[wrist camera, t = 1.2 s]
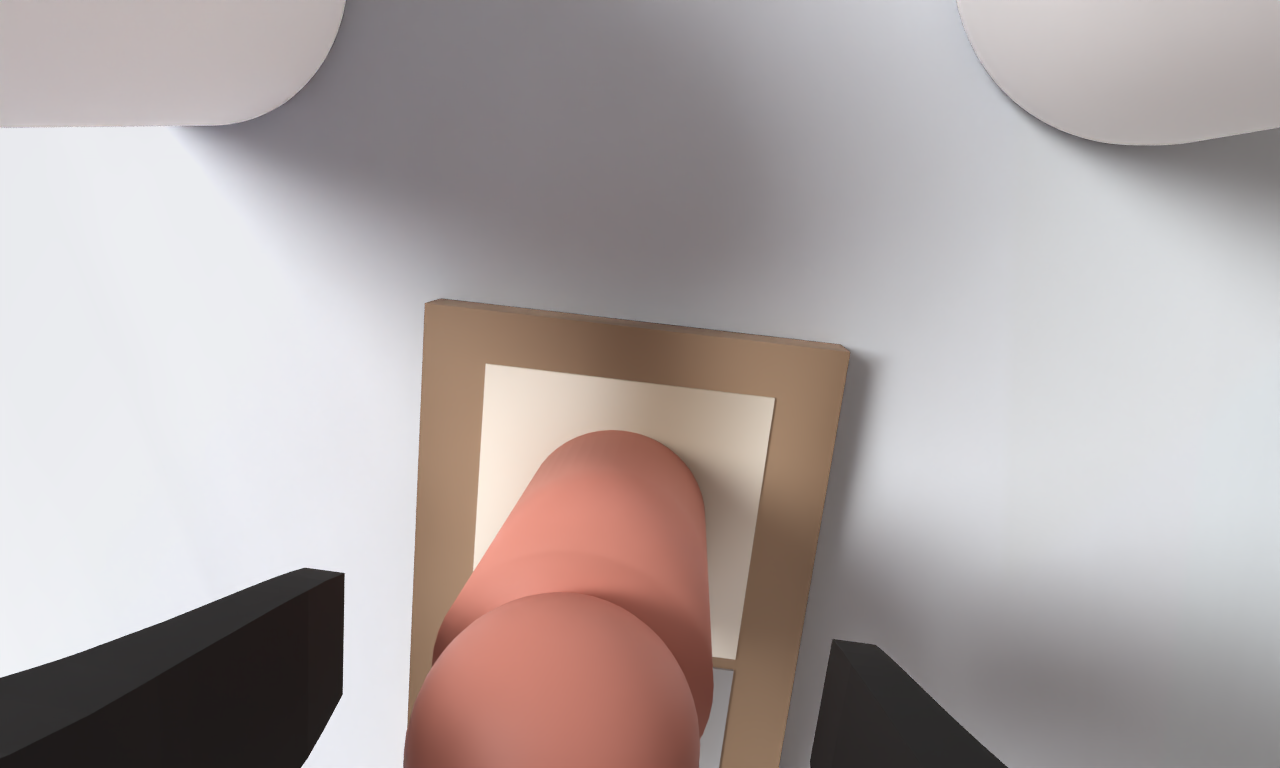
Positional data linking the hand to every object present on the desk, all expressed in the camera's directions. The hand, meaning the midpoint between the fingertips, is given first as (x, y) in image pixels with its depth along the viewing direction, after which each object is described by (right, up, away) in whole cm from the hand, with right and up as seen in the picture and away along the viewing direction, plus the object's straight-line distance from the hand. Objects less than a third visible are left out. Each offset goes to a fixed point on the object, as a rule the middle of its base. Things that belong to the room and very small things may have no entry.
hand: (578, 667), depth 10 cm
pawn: (0, +1, +6) cm, 6 cm away
